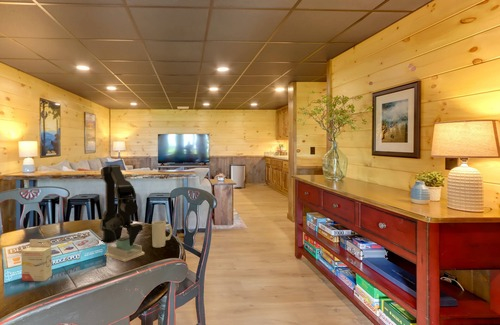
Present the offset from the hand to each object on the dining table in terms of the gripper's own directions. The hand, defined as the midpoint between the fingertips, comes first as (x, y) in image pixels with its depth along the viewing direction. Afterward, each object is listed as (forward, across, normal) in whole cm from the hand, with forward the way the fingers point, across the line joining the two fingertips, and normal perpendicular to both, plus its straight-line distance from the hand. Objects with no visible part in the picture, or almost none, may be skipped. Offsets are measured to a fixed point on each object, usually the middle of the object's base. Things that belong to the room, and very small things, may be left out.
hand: (124, 243), depth 142 cm
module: (+3, 0, 0) cm, 3 cm away
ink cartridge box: (+6, -6, -34) cm, 35 cm away
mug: (+6, +4, +19) cm, 20 cm away
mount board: (+5, 0, 0) cm, 5 cm away
